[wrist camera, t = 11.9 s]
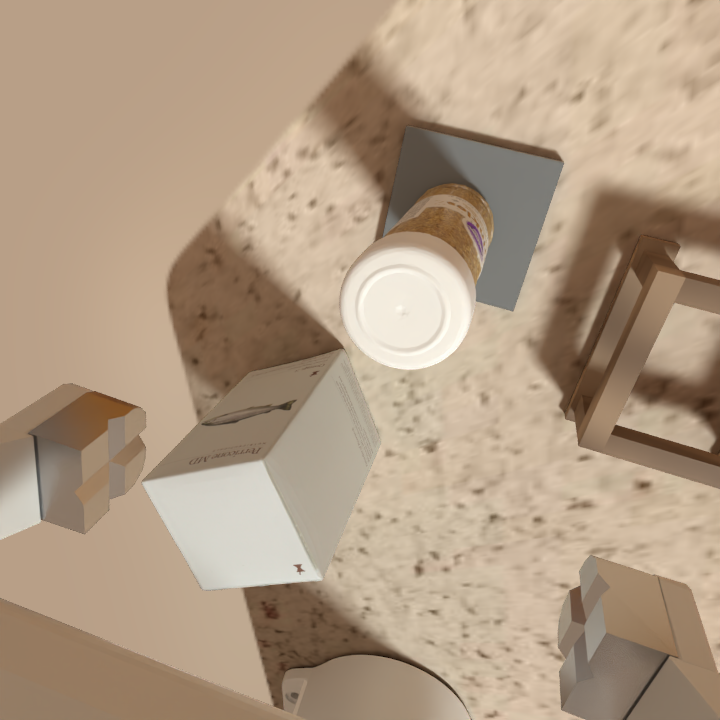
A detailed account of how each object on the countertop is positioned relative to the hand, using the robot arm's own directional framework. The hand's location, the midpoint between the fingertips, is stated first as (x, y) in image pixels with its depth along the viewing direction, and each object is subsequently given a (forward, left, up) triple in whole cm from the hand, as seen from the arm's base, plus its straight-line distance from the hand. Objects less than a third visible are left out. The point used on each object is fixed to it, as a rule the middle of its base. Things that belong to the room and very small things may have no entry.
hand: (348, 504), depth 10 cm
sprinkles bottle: (0, +1, -24) cm, 24 cm away
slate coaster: (0, 0, -24) cm, 24 cm away
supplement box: (-14, +7, -24) cm, 29 cm away
